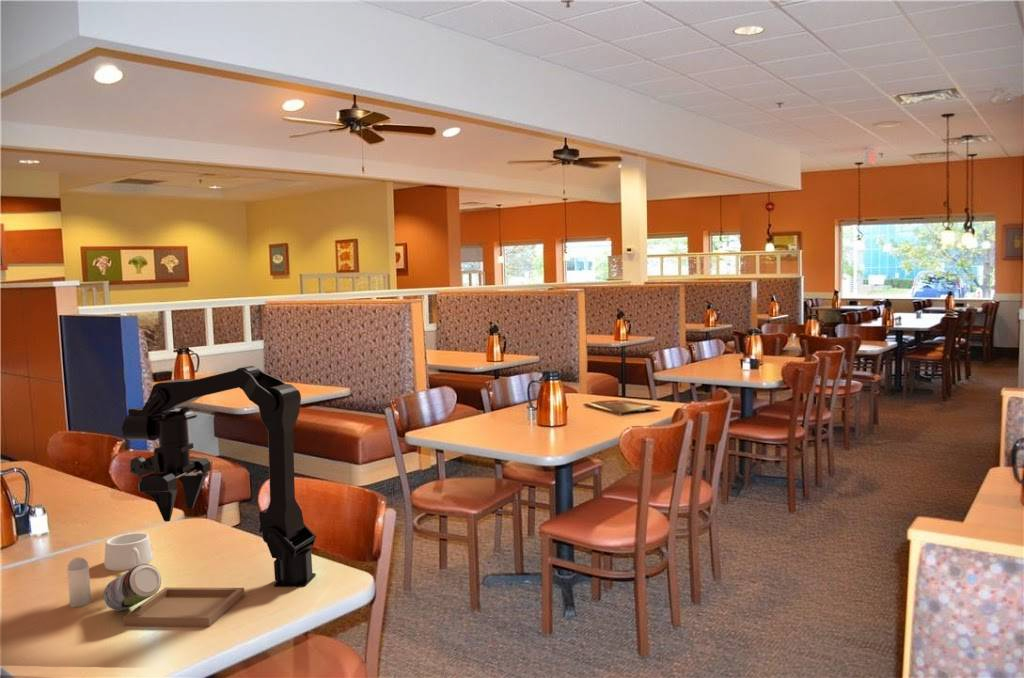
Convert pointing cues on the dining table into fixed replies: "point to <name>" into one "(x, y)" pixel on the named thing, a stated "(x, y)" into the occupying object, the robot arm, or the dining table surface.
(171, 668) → the dining table surface
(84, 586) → the salt shaker
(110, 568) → the mug
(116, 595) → the beverage can
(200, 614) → the tray
